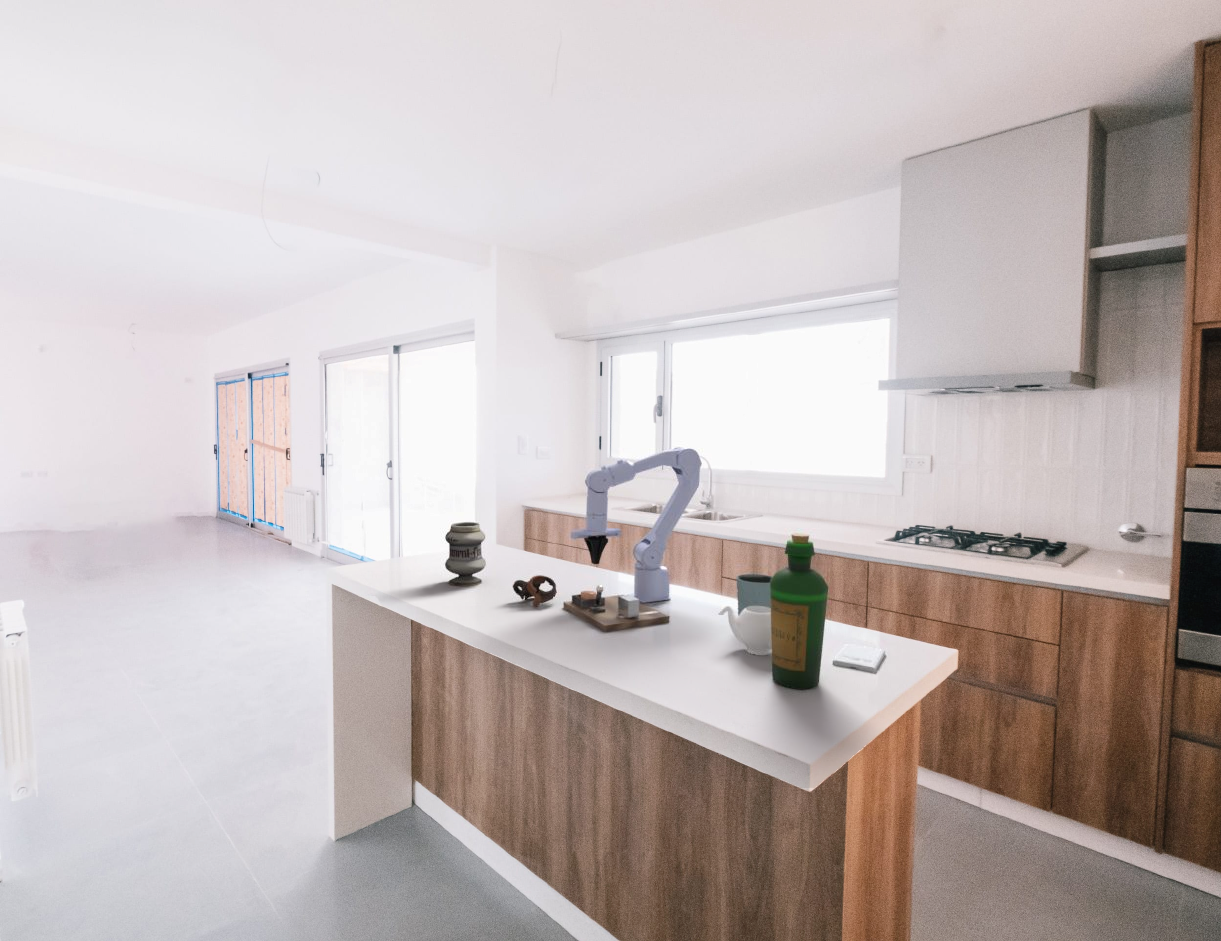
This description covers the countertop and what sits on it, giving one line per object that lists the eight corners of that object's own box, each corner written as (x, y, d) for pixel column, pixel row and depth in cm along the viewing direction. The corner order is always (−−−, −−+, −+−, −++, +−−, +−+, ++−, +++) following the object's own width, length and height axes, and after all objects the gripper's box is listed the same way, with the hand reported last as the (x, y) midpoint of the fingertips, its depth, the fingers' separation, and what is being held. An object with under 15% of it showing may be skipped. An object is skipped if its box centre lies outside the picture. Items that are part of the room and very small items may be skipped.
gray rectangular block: (628, 611, 163) (628, 594, 163) (638, 616, 159) (639, 599, 158) (618, 612, 161) (618, 596, 161) (628, 618, 157) (628, 600, 157)
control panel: (622, 600, 181) (622, 587, 180) (669, 622, 161) (669, 608, 160) (563, 607, 172) (563, 594, 172) (604, 631, 152) (605, 617, 152)
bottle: (758, 671, 128) (763, 530, 127) (811, 670, 129) (816, 530, 127) (777, 693, 118) (782, 539, 116) (834, 692, 119) (840, 539, 117)
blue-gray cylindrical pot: (729, 629, 156) (731, 579, 155) (742, 618, 165) (743, 571, 164) (772, 635, 151) (774, 584, 150) (782, 624, 160) (784, 576, 159)
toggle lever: (599, 604, 165) (602, 583, 163) (602, 608, 164) (605, 586, 162) (592, 605, 164) (595, 584, 162) (595, 608, 163) (598, 587, 161)
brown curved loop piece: (553, 598, 183) (560, 576, 179) (549, 621, 175) (556, 599, 171) (512, 587, 182) (518, 565, 178) (505, 610, 174) (512, 588, 170)
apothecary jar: (438, 586, 193) (438, 525, 192) (454, 577, 205) (454, 520, 204) (477, 588, 191) (477, 527, 190) (491, 579, 203) (491, 521, 202)
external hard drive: (885, 657, 140) (874, 675, 129) (845, 650, 144) (832, 666, 133) (885, 649, 139) (875, 667, 129) (845, 642, 144) (832, 659, 133)
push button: (591, 599, 173) (591, 590, 173) (598, 603, 170) (598, 593, 169) (578, 601, 171) (578, 591, 171) (584, 604, 168) (584, 595, 167)
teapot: (728, 636, 150) (729, 596, 149) (811, 657, 137) (813, 613, 136) (706, 646, 143) (707, 604, 142) (791, 669, 130) (793, 623, 129)
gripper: (612, 511, 185) (611, 559, 186) (566, 513, 178) (565, 562, 179) (625, 514, 179) (623, 563, 180) (577, 516, 172) (576, 567, 173)
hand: (595, 563), depth 179 cm, fingers closed
